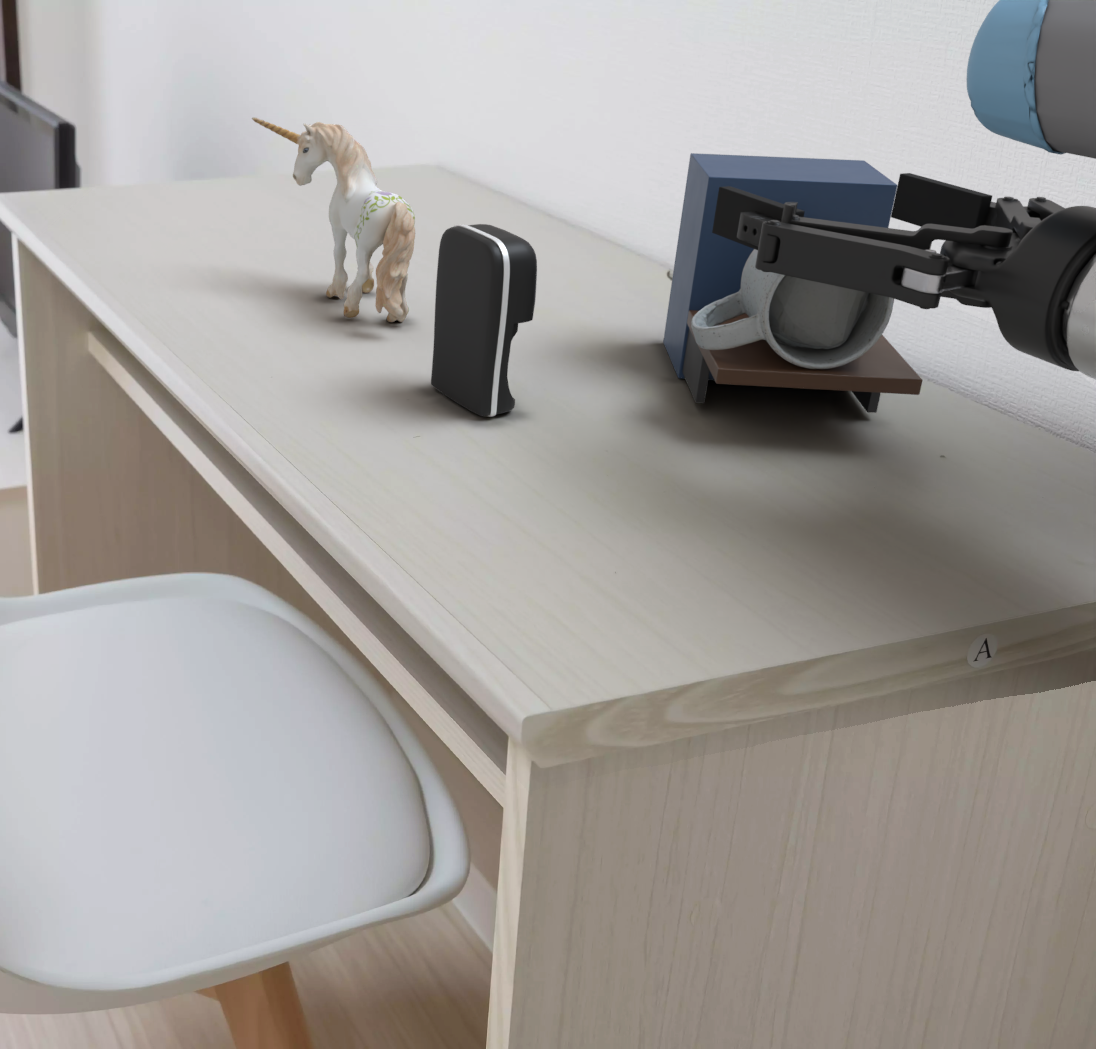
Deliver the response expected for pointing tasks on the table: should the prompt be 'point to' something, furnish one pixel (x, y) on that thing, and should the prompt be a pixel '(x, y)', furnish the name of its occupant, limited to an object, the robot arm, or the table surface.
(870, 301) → the ceramic mug
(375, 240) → the unicorn figurine
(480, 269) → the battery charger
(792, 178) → the blue chair shape
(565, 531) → the table surface
